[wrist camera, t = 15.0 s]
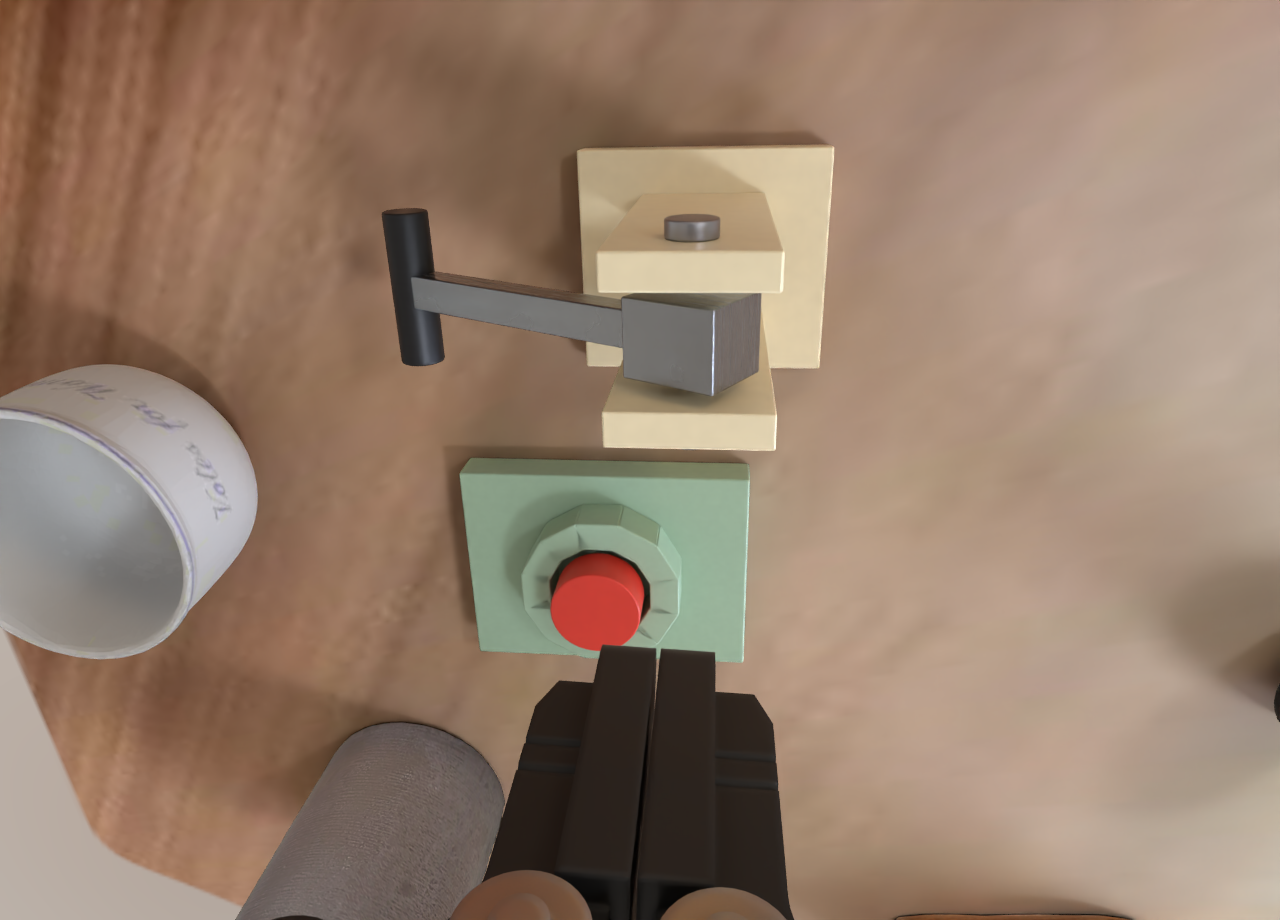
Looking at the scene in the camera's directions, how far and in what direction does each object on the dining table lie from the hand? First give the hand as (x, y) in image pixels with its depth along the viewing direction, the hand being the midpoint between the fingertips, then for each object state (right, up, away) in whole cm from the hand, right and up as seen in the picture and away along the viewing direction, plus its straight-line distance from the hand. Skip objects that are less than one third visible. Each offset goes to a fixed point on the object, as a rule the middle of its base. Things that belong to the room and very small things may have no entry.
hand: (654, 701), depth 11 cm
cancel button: (-2, -2, +24) cm, 24 cm away
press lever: (-2, +8, +14) cm, 17 cm away
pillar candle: (-12, -14, +34) cm, 39 cm away
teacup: (-22, +4, +27) cm, 35 cm away
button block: (-2, -1, +26) cm, 27 cm away
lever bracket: (+2, +11, +21) cm, 24 cm away
